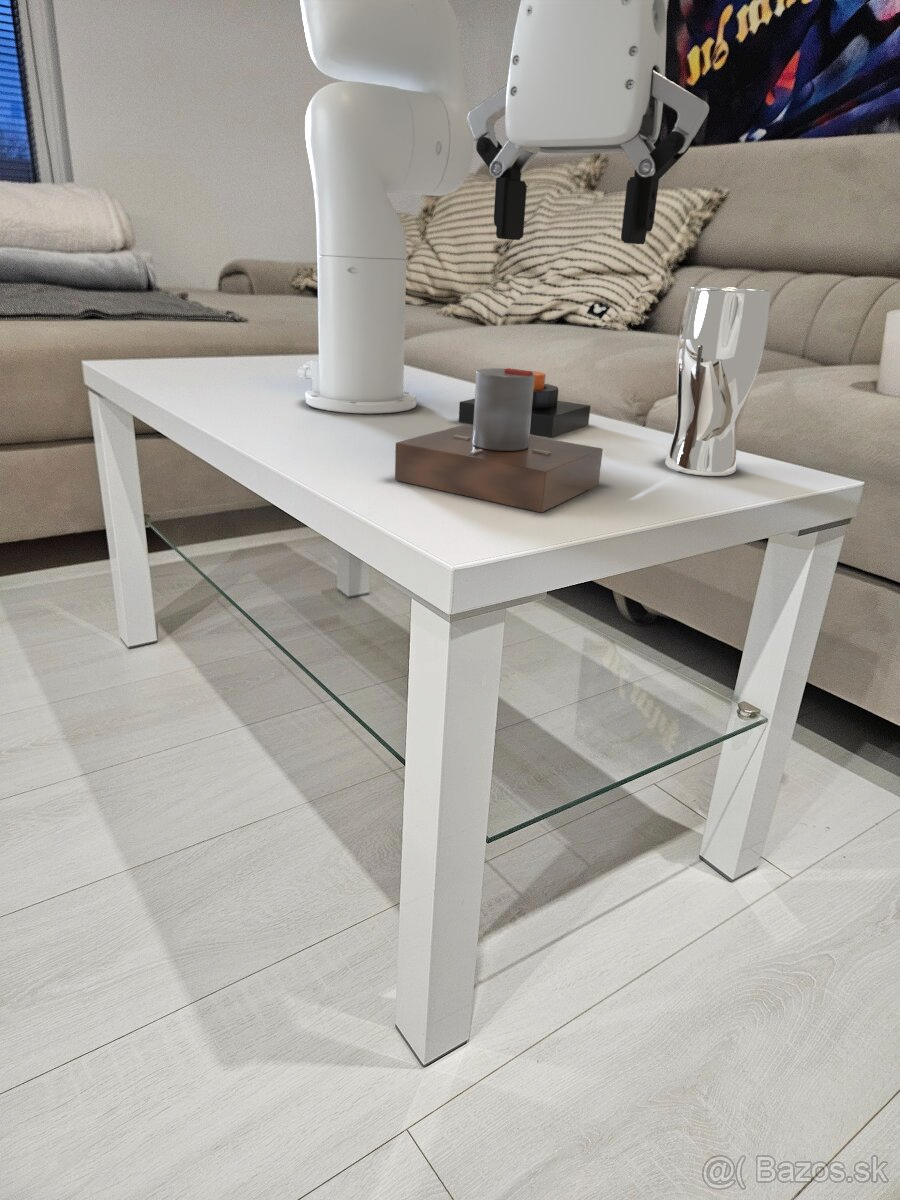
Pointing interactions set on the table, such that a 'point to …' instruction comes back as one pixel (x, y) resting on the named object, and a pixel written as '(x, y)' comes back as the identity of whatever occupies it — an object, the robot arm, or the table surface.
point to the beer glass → (715, 375)
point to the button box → (543, 413)
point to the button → (539, 380)
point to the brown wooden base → (499, 468)
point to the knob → (503, 409)
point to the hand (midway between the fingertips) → (569, 241)
